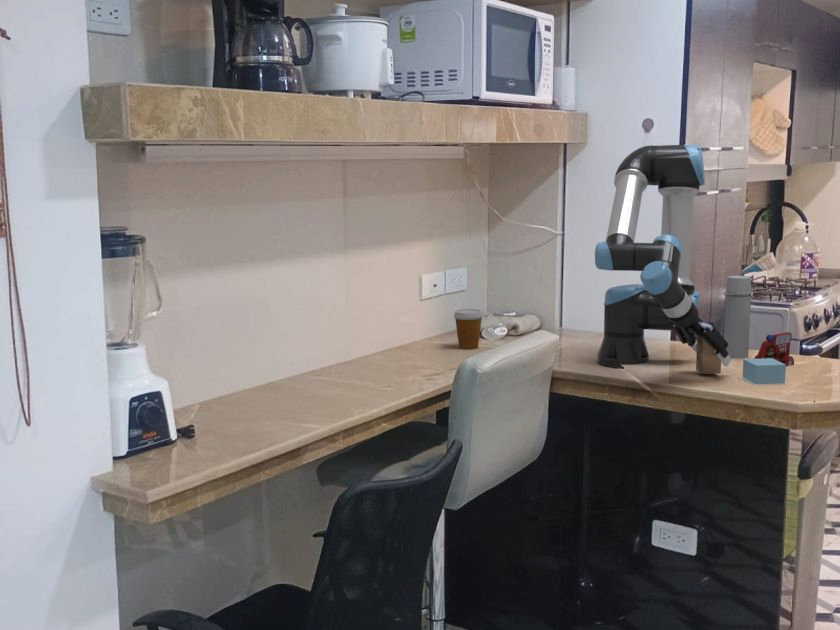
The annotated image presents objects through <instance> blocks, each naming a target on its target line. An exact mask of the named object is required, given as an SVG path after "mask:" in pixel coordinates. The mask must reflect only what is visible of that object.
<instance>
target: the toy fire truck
mask: <svg viewBox="0 0 840 630" xmlns="http://www.w3.org/2000/svg"><path fill="white" fill-rule="evenodd" d="M791 342H792V333H791V332H787V331H786V332H781V333H776V334H767V335H766V337H765V340H763V341H762V343H761V346H760V348H759V350H758V353H757V354H756V355H755V356H754V357H753V359H765V358H773V359H775V360H777V361H779V362H781V363H783V364H785V365H786V367H790V366H794V365H795V359H794V357H793V356H791V355H790V352H791V351H790V349H791Z"/></svg>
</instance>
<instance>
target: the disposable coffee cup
mask: <svg viewBox="0 0 840 630" xmlns="http://www.w3.org/2000/svg"><path fill="white" fill-rule="evenodd" d="M453 316H454V319H455V325H456V327H455V328H456V333H457V341H458V343H457V344H458V348H459V347H460V348H459V349H461V348H463V349H462V350H474V349H475V350H476V349H478V348H479V343H480V335H481V328H482V327H481V325H482V319H483V317H484V315H483V311H482V310H480V309H474V308H470V309H469V308H466V309H465V308H462V309H457V310H455V312H454V314H453Z"/></svg>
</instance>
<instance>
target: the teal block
mask: <svg viewBox="0 0 840 630" xmlns="http://www.w3.org/2000/svg"><path fill="white" fill-rule="evenodd" d="M786 367H787V366H786V365H785V364H783V363H781V362H779V361H777V360H775V359H773V358H765V359H754V358H742V377H743V378H745V379H747V380H749V381H750V382H752V383H754V384H769V385H781V384H780V383H786V369H787V368H786ZM743 378H742V379H743ZM750 382H749V383H750ZM752 383H751V384H752Z"/></svg>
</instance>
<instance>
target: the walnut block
mask: <svg viewBox="0 0 840 630" xmlns="http://www.w3.org/2000/svg"><path fill="white" fill-rule="evenodd" d="M696 337H697V339H696V340H697V353H696V357H695V358H696V360H695V361H696V363H695V370H696V371H697V372H699V373H701V374H703V375H705V374H706V375H710V374H721V373H722V362H721V360H720V359H719V358H718V356H717V355H716V354H715V349H714V348H712V347H711V346H710V345H709V344H708V343H707V342H706V341H705V340H703V339H702V338H701V337H698V336H696Z"/></svg>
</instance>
